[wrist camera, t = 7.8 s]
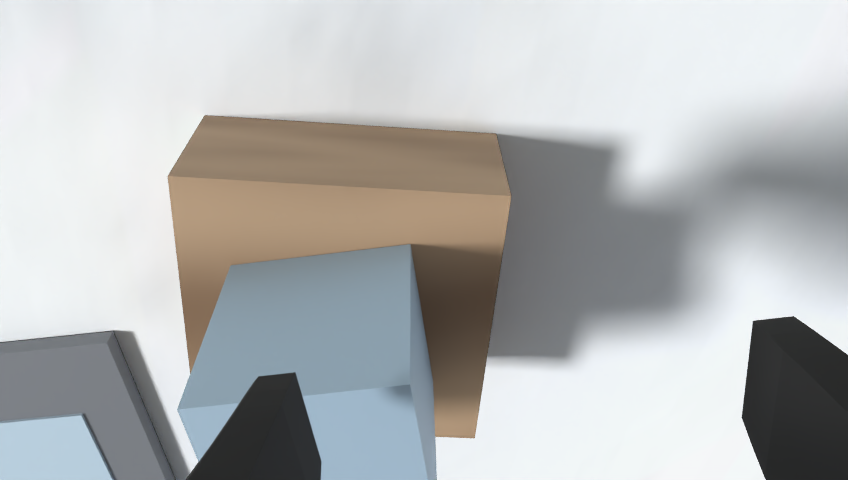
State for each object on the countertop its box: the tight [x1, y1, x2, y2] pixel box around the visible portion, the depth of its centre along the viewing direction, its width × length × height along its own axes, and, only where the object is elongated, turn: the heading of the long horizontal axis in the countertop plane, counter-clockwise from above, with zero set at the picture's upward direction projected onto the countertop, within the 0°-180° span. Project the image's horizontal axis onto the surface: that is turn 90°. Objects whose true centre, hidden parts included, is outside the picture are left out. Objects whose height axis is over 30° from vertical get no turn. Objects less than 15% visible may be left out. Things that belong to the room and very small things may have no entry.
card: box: [0, 331, 175, 480], centre depth 27 cm, size 10×8×1 cm
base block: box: [168, 115, 511, 438], centre depth 21 cm, size 8×8×4 cm
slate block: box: [177, 244, 437, 480], centre depth 18 cm, size 4×4×5 cm
